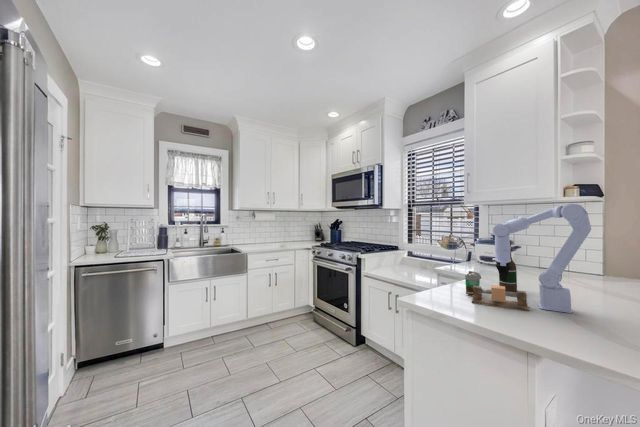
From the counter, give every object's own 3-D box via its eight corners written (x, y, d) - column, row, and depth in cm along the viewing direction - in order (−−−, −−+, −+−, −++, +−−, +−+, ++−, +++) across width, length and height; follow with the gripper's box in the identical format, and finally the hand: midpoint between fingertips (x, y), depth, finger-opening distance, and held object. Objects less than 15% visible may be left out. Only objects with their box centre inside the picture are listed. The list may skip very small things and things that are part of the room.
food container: (480, 297, 122) (479, 276, 122) (465, 295, 126) (465, 275, 126) (483, 291, 132) (482, 272, 132) (469, 289, 136) (468, 270, 136)
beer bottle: (502, 292, 130) (500, 244, 130) (496, 288, 137) (495, 243, 138) (520, 293, 128) (519, 244, 128) (513, 289, 135) (512, 243, 135)
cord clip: (505, 298, 114) (505, 286, 114) (505, 302, 110) (505, 289, 110) (491, 297, 117) (491, 284, 117) (491, 300, 113) (491, 287, 113)
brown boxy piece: (527, 305, 111) (526, 290, 111) (529, 311, 104) (528, 295, 104) (473, 297, 122) (472, 284, 122) (471, 302, 116) (471, 288, 116)
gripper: (492, 247, 128) (493, 274, 128) (491, 251, 116) (492, 281, 116) (510, 248, 124) (510, 276, 124) (511, 252, 112) (512, 283, 112)
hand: (503, 278), depth 120 cm, fingers open, 7 cm apart
